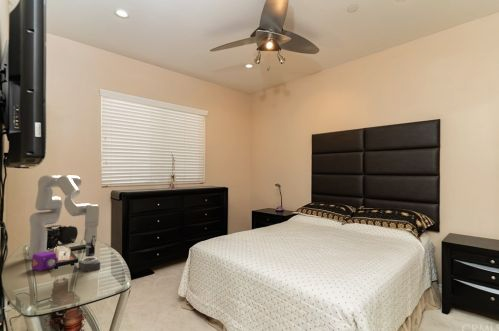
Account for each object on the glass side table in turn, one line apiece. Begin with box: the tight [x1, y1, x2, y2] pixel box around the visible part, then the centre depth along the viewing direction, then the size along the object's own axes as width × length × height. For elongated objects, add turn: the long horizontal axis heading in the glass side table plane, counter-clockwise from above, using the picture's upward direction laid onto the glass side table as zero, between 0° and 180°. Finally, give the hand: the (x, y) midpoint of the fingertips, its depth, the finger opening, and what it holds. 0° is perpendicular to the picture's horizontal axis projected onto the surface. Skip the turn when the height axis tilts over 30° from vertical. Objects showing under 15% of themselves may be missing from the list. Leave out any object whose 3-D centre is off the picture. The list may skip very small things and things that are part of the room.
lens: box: [84, 242, 96, 258], centre depth 169 cm, size 5×5×8 cm
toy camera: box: [31, 250, 58, 272], centre depth 165 cm, size 11×14×10 cm
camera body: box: [78, 256, 101, 273], centre depth 168 cm, size 12×9×6 cm
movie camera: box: [45, 224, 79, 250], centre depth 216 cm, size 31×18×18 cm, turn 162°
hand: (90, 252), depth 169 cm, fingers closed on lens, 5 cm apart
